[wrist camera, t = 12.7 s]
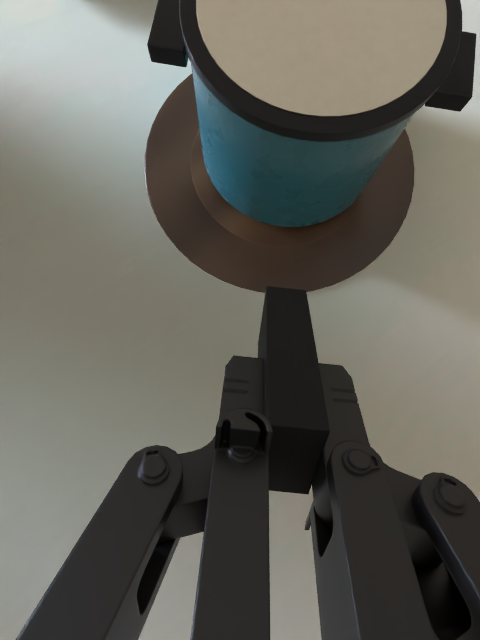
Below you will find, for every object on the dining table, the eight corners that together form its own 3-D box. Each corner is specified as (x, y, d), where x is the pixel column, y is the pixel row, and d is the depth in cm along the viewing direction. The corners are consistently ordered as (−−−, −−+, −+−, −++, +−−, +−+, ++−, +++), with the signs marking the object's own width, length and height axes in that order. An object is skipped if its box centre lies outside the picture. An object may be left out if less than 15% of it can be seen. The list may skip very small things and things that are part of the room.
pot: (388, 251, 26) (492, 161, 15) (161, 213, 26) (114, 99, 16) (405, 91, 28) (505, -81, 18) (195, 57, 28) (174, -132, 18)
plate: (89, 179, 27) (87, 175, 26) (260, 7, 29) (260, 1, 29) (301, 352, 25) (303, 352, 24) (463, 151, 27) (466, 148, 27)
